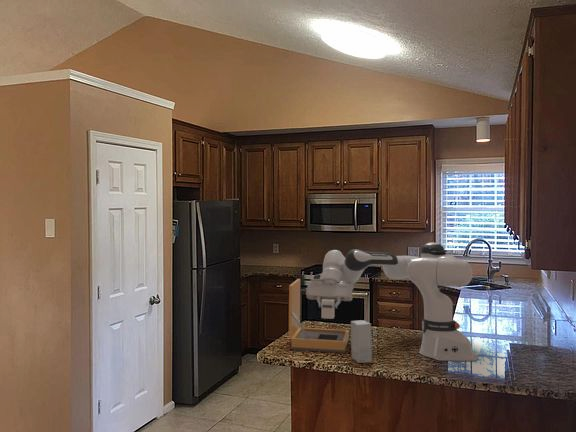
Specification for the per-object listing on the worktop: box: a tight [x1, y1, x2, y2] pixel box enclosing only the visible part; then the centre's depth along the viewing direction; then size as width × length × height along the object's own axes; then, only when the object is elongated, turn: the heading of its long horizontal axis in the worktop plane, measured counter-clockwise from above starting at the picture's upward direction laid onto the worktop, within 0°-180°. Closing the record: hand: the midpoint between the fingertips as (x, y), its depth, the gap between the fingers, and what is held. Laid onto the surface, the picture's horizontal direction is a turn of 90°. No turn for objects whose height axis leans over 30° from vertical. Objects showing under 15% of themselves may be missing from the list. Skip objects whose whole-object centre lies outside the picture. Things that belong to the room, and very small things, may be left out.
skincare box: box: [350, 319, 373, 364], centre depth 201 cm, size 8×6×15 cm
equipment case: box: [288, 278, 350, 354], centre depth 222 cm, size 23×20×26 cm
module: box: [321, 299, 336, 320], centre depth 221 cm, size 5×5×8 cm
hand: (327, 307), depth 221 cm, fingers closed on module, 5 cm apart
